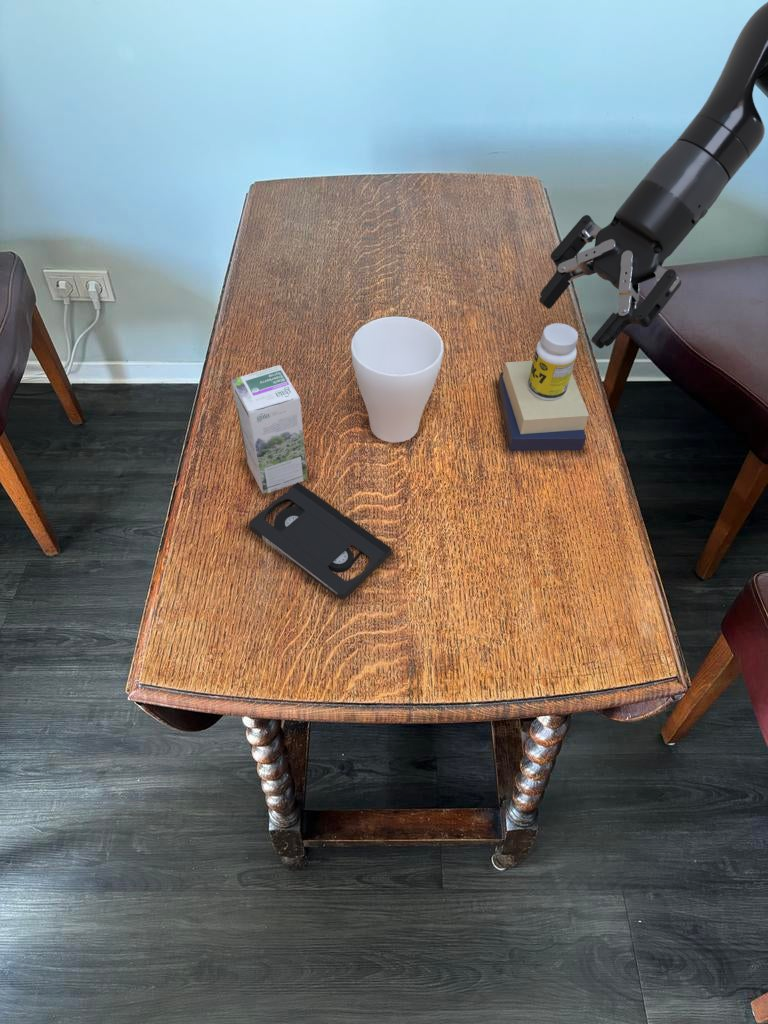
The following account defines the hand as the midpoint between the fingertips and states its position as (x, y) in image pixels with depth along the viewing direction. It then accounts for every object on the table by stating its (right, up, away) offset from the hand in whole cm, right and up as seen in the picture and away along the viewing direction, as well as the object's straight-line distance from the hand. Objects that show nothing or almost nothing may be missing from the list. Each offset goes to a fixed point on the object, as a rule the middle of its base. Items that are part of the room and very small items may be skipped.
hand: (569, 324), depth 82 cm
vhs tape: (-28, -25, -1) cm, 38 cm away
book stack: (-1, -9, +11) cm, 15 cm away
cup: (-20, -11, +10) cm, 25 cm away
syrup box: (-34, -17, +5) cm, 38 cm away
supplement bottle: (-1, -6, +7) cm, 9 cm away
